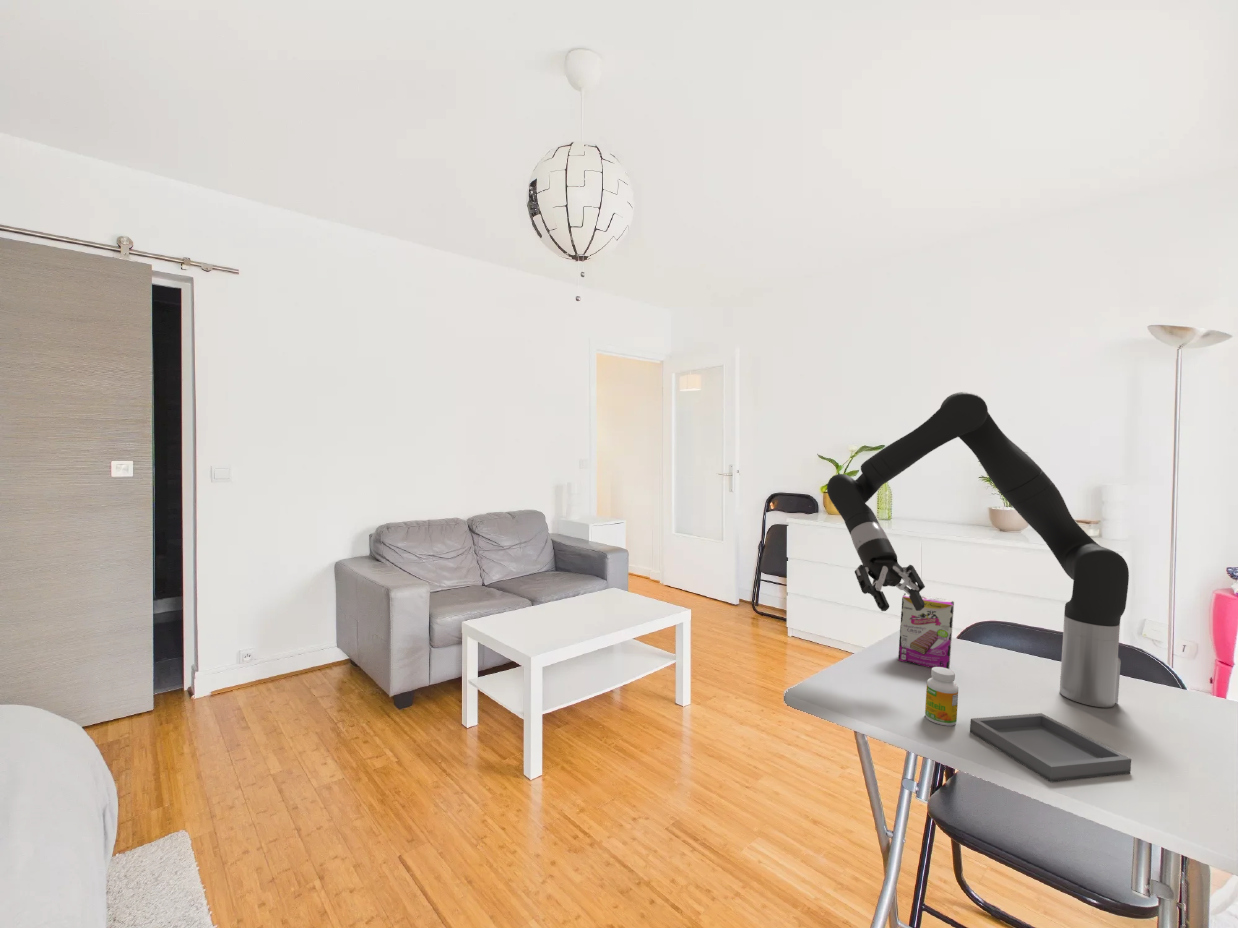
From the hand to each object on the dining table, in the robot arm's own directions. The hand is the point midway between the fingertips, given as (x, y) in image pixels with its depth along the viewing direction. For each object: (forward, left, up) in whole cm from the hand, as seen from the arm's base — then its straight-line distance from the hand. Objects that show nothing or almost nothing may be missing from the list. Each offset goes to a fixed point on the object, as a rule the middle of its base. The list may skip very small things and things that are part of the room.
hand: (903, 609), depth 121 cm
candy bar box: (-18, -14, -19) cm, 30 cm away
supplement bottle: (0, +12, -19) cm, 22 cm away
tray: (-10, +25, -18) cm, 32 cm away
